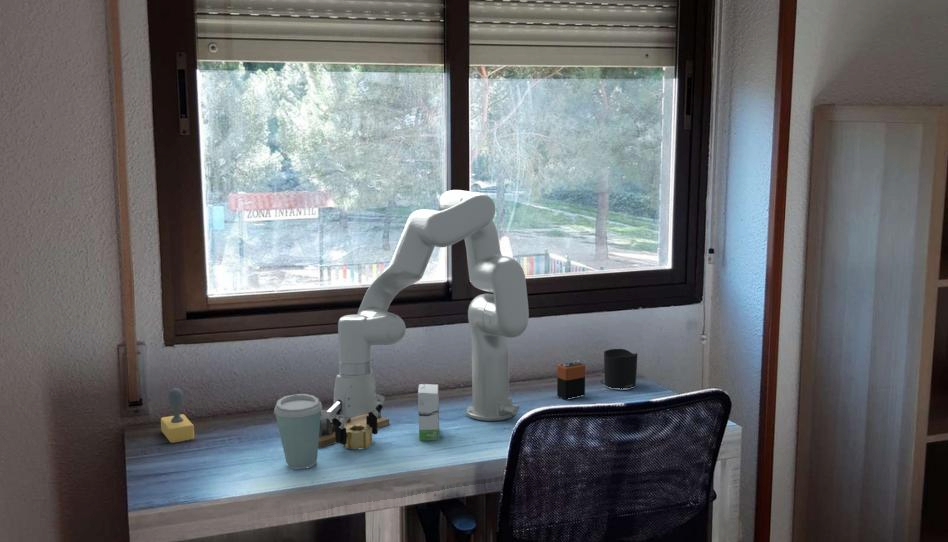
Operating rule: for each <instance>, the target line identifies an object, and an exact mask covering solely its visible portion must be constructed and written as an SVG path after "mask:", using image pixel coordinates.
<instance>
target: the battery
mask: <svg viewBox="0 0 948 542" xmlns="http://www.w3.org/2000/svg"><path fill="white" fill-rule="evenodd" d="M556 367H557V373H556V374H557V375H556V376H557V377H556V378H557V382H556V384H557V388H556V391H557V392H556V393H557V394H556V395H557V397H558V396H559V397H558V398H560V397H562V398H565V399H568V398H572V397H577V396H581V395H585V396H586V365H585V364H584V363H581V360H579V359H573V360H572V361H571V362H563V363H562V364H558V365H557V366H556ZM562 398H561V399H562ZM565 399H564V400H565Z"/></svg>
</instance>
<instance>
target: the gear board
mask: <svg viewBox="0 0 948 542" xmlns="http://www.w3.org/2000/svg"><path fill="white" fill-rule="evenodd" d="M328 410H329V409H322V410H321V417H320V429H319V442H318V448H320V447H322V448H325V447H327V446H330V444H331V445H333V444H336V438H335V427H334V426H333V424H331V423H330V422H329V419H328V417H327V415H326V412H327V411H328ZM379 414H380V415H379V417H378V418H377V430H378V429H381V428H383V427H387V426H389V425H390V418H387V417H383V416H382V410H381V411H380V413H379ZM336 416H337V415H335V418H336ZM367 416H369V415H368V413H367V414H364V415H360V416H357V417H354V418H350V419H348V420H347V422H346V424H345V426H344V428H345V427H346V426H347V425H356V424H364V425H367V423H366V417H367ZM342 419H343V418H341V420H342ZM341 420H340V422H341Z"/></svg>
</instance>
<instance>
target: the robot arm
mask: <svg viewBox="0 0 948 542" xmlns="http://www.w3.org/2000/svg"><path fill="white" fill-rule="evenodd" d="M438 209H439V210H435V209H426V208H425V209H417V210H414V211H413V212H412V213H411V214H410V215H409V216H408V218H407V220H406V223H405V225H404V228H403V229H402V232H401V234H400V238H399V240H398V242H397V244H396V247H395V249H394V252H393V254H392V257H391V260H390V261H389V264H388V265H387V266H386V268H385V269H384V270H383V271H381V273H380V274H378V276H377V277H376V278H375V280H373V282H372V283H371V284H370V286H369V287H368V289H366V292H365V293H364V296H363V299H362V301H361V303H360V305H359V308H358V311H357V313H356V314H346V315H343V316H341V317H340V318H339V320H338V323H337V330H338V331H337V332H338V333H337V334H338V335H337V336H338V338H337V339H338V370H339V371H338V374H337V375H336V377H335V382H334V386H333V387H334V389H333V402H332V403H333V404H332V406H331V407H329V408H328V409H327V410H328V411H327V412H326V415H327V417H328V419H329V422H330V423H331V424H333V426H334V427H335V438H336V442H337V444H341V445H342V446H343V445H345V444H346V443H347V437H346V428H344V426H345V424H346V422H347V420H348V419H350V418H354V417H357V416H360V415H364V414H367V413H368V415H369V416H367V417H366V423H367V425H369V426H370V427H372V435H377V434H378V429H377V418H378V417H379V415H380V414H379V413H380V411H381V412H382V409H383V404H384V402H385V399H386V398H385V397H386V396H385V395H383V394H378V393H377V386H376V379H375V375H374V371H373V370H372V365H373V364H374V359H372V346H392V345H395V344H397V343H399V342H400V341H402V340H403V339H404V337H405V336H406V331H407V327H406V323H405V321H404V320H403V319H402V317H400V316H399V315H398V314H395V313H392V312H390V311H388V310H389V308H390V305H391V303H392V302H393V300H394V299H395V297H396V296H397V295H398V294H399V293H400V292H401V291H402V290H403V289H406V288H407V287H409V286H411V285H414V284H415V283H417V282H419V281H421V279H422V278H423V277H424V275H425V272H426V269H427V267H428V264H429V261H430V259H431V257H432V254H433V251H434V249H435V247H438V248H447V247H450V246H453V245H455V244H457V243H459V242H460V241H463V240H464V244H465V245H464V246H465V250H466V259H467V270H468V277H469V280H470V283H471V285H472V286H473V287H474V288H476V289H478V290H481V291H484V292H488V293H483V294H478V295H477V296H475V297H474V298H473V299H472V300H471V301H470V303H469V305H468V309H467V319H468V320H467V321H468V325H469V329H470V338H471V381H472V382H471V385H472V387H471V388H472V389H471V395H472V396H471V397H472V398H471V401H472V402H471V403H472V404H471V405H470V406H468V407H467V408H466V410H465V411H466V416H468V417H469V418H471V419H475V420H477V421H483V422H484V421H486V422H495V421H496V422H497V421H505V420H508V419H510V418H512V417H515V416H516V415H517V414H518V411H519V410H520V406H519V405H517V404H513V398H512V397H510V371H509V370H510V358H509V357H510V347H509V341H508V338H509V339H511V338H517V337H520V336H521V335H522V334H523V333H524V332H525V331H526V329H527V327H528V324H529V318H530V313H529V312H530V309H529V301H528V291H527V281H526V275H525V271H524V269H523V267H522V265H521V263H520V262H518V261H517V260H516V259H514V258H512V257H509V256H505V255H503V254H502V251H501V246H500V245H501V244H500V240H499V233H498V229H497V227H496V224H495V222H494V217H495V216H496V215H495V214H496V205H495V202H494V200H493V199H492V198H491V197H490V195H488V194H486V193H483V192H478V191H472V190H471V191H470V190H462V189H452V190H447V191H445V192H443V193H442V194H441V195H440V197H439V199H438ZM335 415H337V416H336V418H335ZM341 418H343V419H342V420H341ZM340 420H341V422H340Z"/></svg>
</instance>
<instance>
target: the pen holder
mask: <svg viewBox="0 0 948 542" xmlns="http://www.w3.org/2000/svg"><path fill="white" fill-rule="evenodd" d="M603 363H604V365H603V367H604V386H605V385H606V386H608V387H611V388H620V389H621V388H622V389H623V388H631V387H634V386H635V387H636V384H637V370H638V369H637V367H638V352H636V353H632V352H631V351H629V350H627V349H624V348H611V349H607V350H604V352H603ZM606 386H605V387H606ZM635 387H634V388H635Z"/></svg>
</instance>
